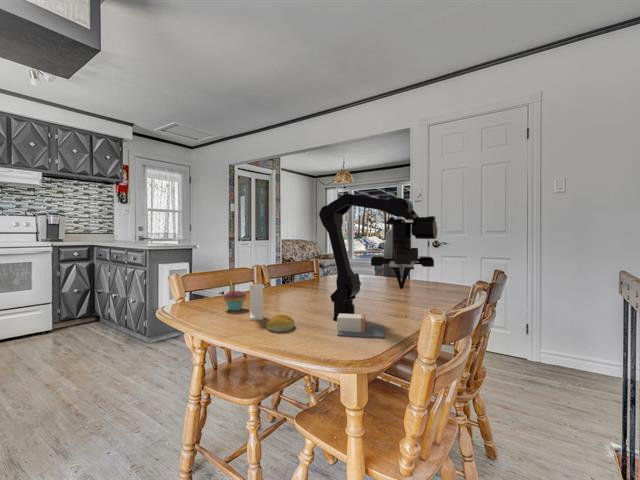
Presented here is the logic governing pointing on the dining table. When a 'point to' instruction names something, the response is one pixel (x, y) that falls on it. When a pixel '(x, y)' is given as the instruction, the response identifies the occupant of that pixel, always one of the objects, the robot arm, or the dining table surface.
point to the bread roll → (280, 323)
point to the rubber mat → (366, 332)
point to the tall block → (351, 322)
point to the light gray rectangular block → (256, 302)
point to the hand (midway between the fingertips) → (401, 288)
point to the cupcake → (234, 299)
